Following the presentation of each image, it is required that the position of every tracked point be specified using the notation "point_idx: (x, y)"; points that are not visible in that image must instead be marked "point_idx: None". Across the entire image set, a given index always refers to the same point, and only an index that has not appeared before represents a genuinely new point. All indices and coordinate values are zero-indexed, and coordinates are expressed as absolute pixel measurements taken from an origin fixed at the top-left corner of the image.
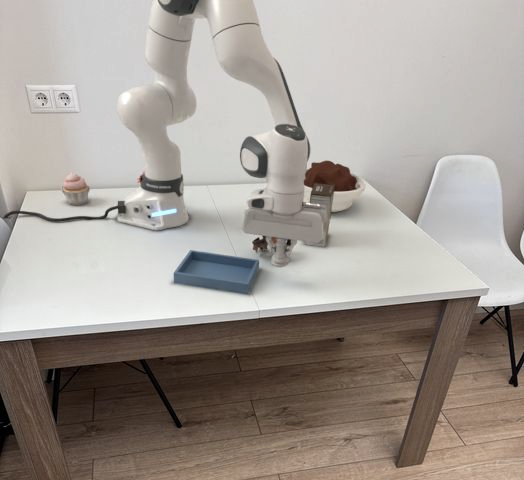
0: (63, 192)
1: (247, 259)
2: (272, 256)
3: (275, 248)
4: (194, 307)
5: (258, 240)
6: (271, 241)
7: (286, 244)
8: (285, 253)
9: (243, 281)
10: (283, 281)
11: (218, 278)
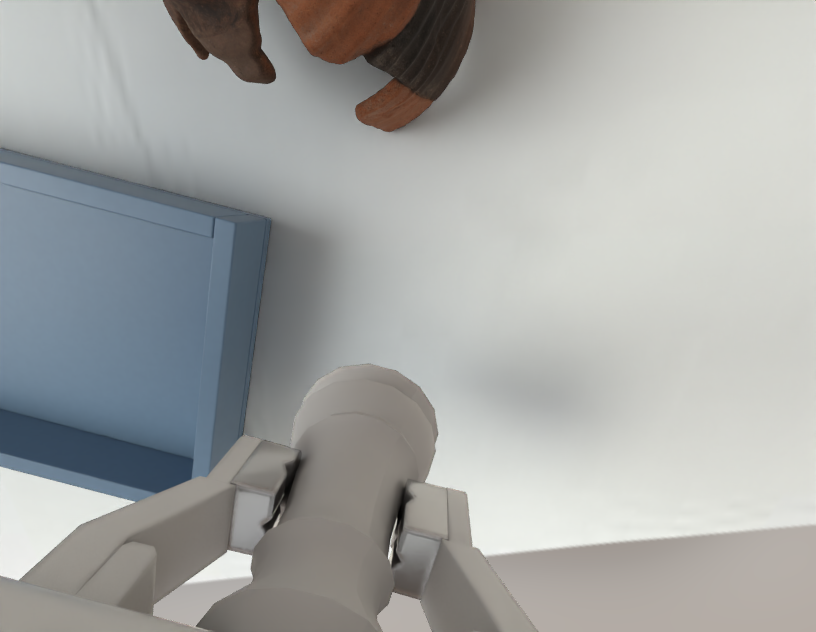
0: None
1: (148, 220)
2: (291, 437)
3: (278, 518)
4: (44, 554)
5: None
6: (188, 535)
7: (388, 596)
8: (393, 538)
9: (195, 382)
10: (421, 355)
11: (37, 465)
